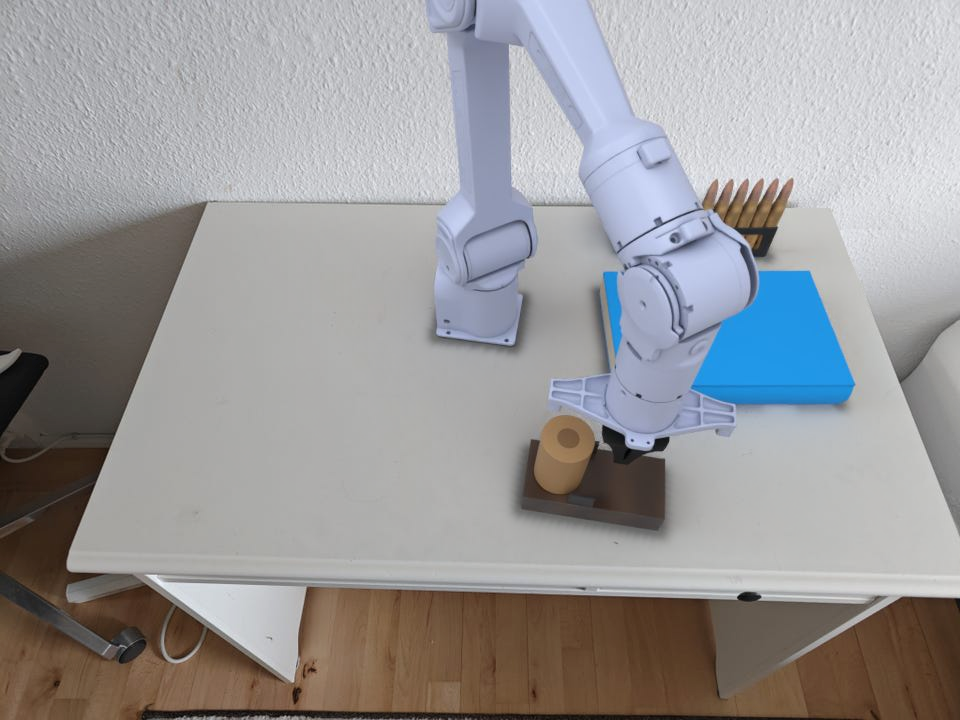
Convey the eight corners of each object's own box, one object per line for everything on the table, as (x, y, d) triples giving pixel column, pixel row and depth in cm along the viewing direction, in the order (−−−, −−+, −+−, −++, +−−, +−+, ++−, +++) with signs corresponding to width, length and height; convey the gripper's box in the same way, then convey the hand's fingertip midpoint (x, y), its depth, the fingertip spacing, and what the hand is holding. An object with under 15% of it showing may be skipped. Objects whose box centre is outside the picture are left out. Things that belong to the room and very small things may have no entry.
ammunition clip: (761, 246, 84) (798, 172, 74) (765, 256, 83) (803, 183, 73) (681, 247, 84) (707, 174, 74) (684, 257, 83) (710, 184, 73)
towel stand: (521, 508, 63) (523, 489, 60) (529, 452, 67) (531, 430, 63) (658, 530, 62) (669, 512, 58) (658, 471, 66) (669, 450, 62)
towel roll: (580, 498, 61) (530, 489, 61) (584, 454, 64) (536, 446, 64) (593, 466, 55) (538, 457, 55) (596, 419, 58) (544, 410, 58)
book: (601, 271, 76) (809, 266, 76) (596, 295, 80) (796, 290, 80) (621, 391, 67) (860, 386, 66) (614, 412, 70) (842, 407, 70)
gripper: (548, 401, 45) (536, 481, 56) (760, 432, 43) (704, 508, 54) (558, 324, 49) (545, 413, 60) (753, 349, 47) (702, 436, 58)
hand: (621, 454), depth 57 cm, fingers closed
